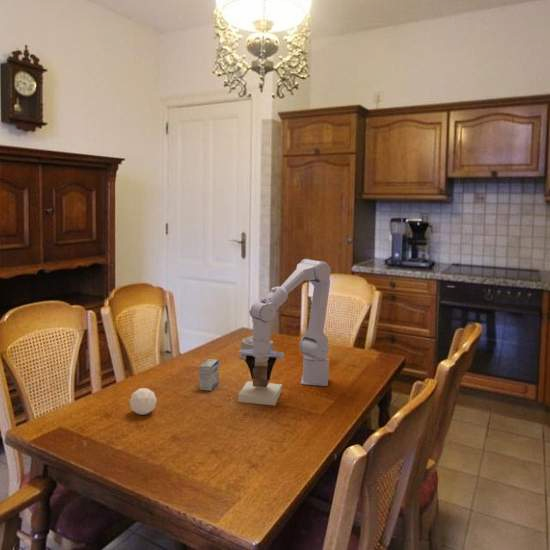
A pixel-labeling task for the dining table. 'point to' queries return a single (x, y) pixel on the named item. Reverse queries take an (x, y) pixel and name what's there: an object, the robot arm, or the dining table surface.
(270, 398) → the base block
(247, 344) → the lumpy-topped squat cylinder
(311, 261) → the robot arm
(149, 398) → the geometric ball
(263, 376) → the walnut block
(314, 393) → the dining table surface
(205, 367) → the medicine box
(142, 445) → the dining table surface
